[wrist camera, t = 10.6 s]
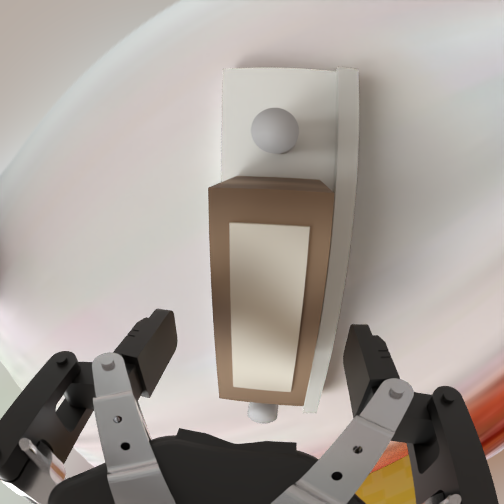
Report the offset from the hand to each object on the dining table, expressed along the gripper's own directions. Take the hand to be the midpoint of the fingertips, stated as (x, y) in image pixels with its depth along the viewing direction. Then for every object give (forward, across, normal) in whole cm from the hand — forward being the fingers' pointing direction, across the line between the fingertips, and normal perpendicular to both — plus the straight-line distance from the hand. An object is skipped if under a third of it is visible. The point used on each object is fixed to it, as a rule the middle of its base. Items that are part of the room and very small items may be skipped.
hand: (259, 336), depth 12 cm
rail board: (+8, -1, 0) cm, 8 cm away
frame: (+7, 0, 0) cm, 7 cm away
